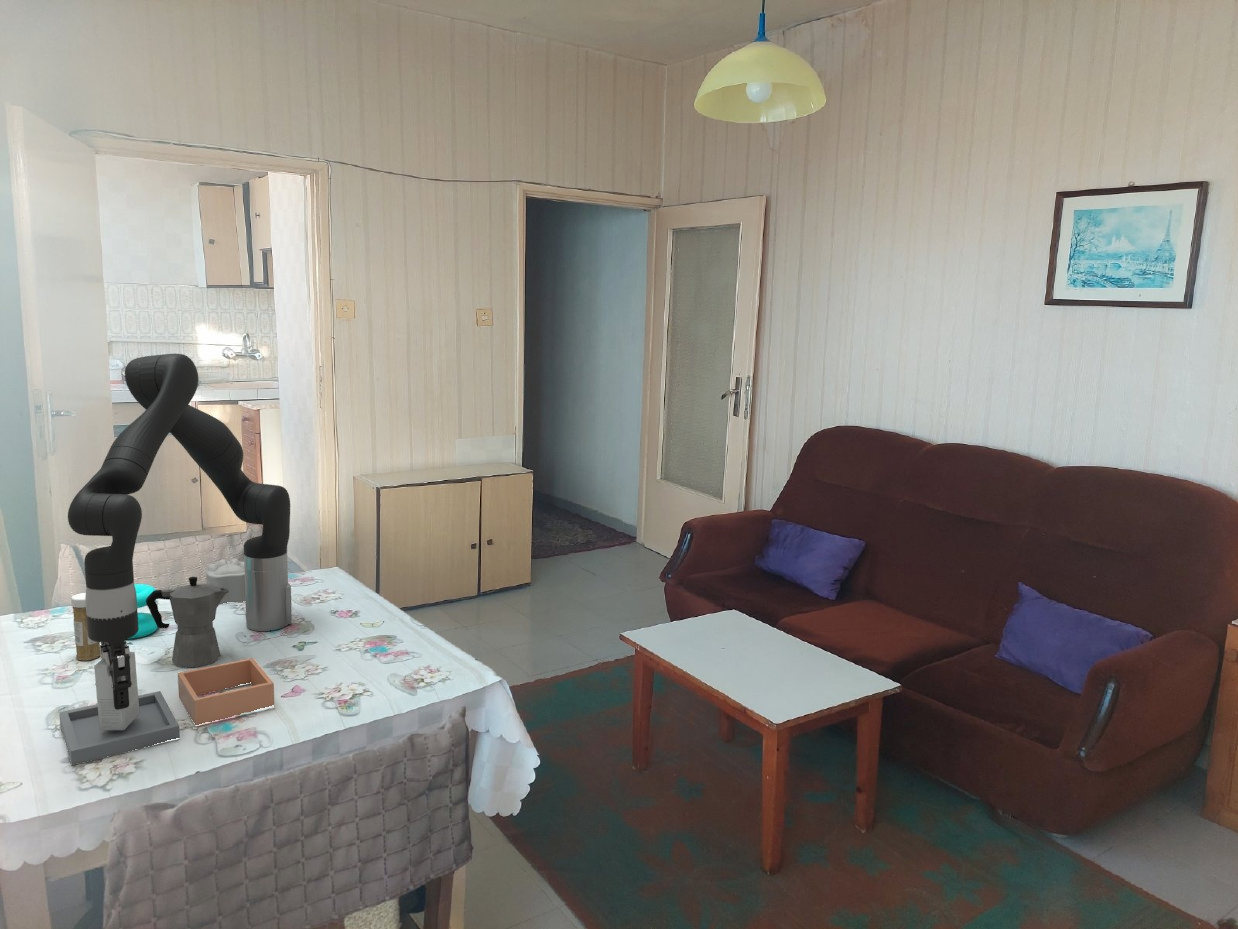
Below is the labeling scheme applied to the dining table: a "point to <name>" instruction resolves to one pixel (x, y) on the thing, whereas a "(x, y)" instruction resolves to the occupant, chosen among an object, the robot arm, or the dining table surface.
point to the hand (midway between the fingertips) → (118, 699)
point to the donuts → (144, 619)
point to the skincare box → (105, 701)
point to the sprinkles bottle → (83, 631)
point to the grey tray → (140, 733)
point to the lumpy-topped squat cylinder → (228, 579)
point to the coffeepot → (191, 621)
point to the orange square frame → (227, 701)
